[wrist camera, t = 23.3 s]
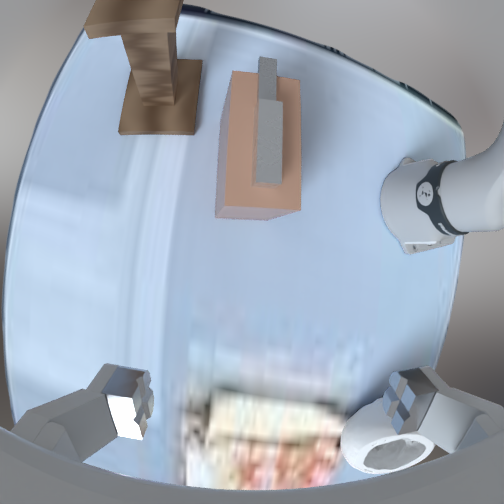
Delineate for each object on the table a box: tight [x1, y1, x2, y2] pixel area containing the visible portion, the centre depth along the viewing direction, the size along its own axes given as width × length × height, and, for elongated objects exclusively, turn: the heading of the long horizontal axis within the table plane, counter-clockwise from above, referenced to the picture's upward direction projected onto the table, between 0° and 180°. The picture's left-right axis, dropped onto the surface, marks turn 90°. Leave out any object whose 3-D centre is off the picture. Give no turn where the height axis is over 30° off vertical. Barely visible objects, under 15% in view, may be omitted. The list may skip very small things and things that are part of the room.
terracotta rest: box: [215, 71, 301, 221], centre depth 37 cm, size 8×16×15 cm, turn 178°
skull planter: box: [341, 397, 436, 474], centre depth 46 cm, size 14×20×19 cm
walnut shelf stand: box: [84, 0, 202, 135], centre depth 28 cm, size 12×14×28 cm
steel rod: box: [251, 57, 283, 189], centre depth 29 cm, size 2×16×2 cm, turn 177°
